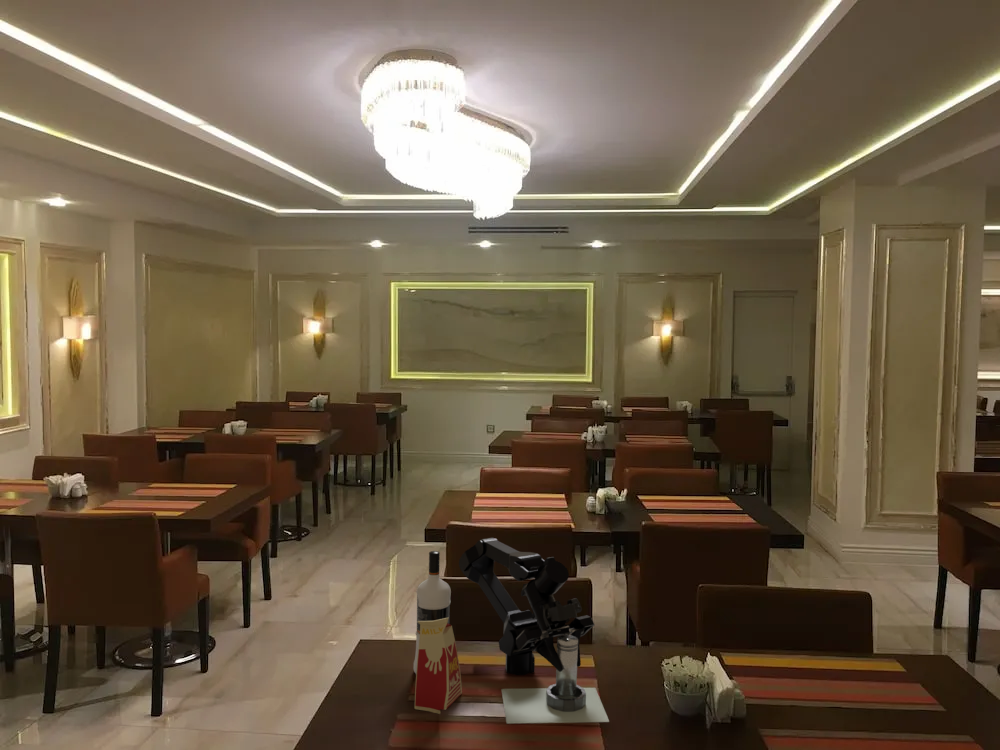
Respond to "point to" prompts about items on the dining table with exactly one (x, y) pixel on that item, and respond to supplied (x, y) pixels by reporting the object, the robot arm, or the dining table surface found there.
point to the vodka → (432, 598)
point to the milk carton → (437, 667)
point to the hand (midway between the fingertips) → (570, 668)
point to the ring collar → (566, 704)
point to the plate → (535, 709)
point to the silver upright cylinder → (567, 665)
